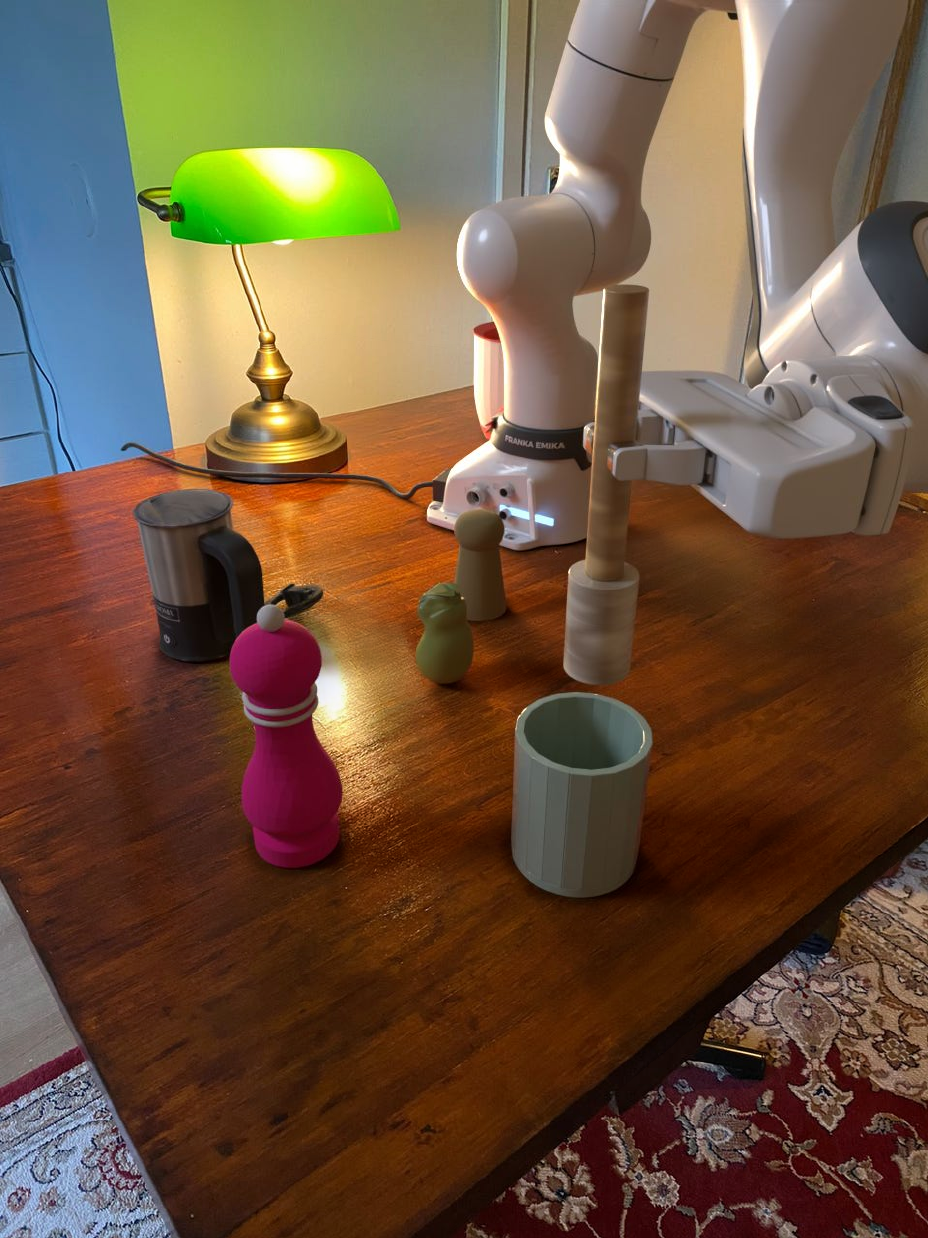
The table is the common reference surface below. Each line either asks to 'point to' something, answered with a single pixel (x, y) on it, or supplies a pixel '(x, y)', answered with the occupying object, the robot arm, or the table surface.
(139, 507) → the milk frother
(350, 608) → the table surface
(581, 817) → the faceted pen cup
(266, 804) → the pepper mill
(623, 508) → the bottle brush
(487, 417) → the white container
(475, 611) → the brown peg figure
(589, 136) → the robot arm
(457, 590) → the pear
